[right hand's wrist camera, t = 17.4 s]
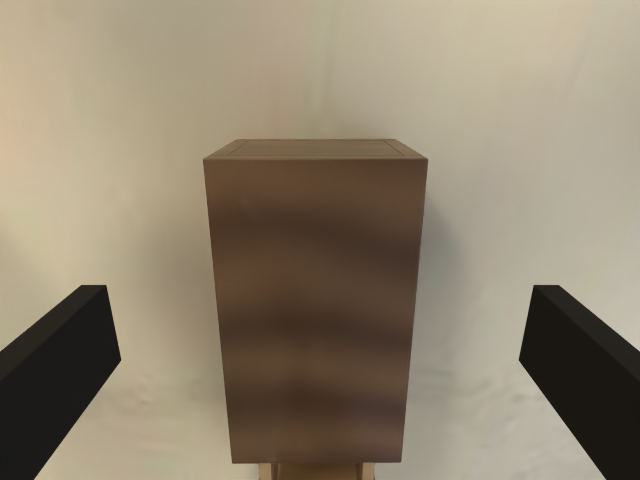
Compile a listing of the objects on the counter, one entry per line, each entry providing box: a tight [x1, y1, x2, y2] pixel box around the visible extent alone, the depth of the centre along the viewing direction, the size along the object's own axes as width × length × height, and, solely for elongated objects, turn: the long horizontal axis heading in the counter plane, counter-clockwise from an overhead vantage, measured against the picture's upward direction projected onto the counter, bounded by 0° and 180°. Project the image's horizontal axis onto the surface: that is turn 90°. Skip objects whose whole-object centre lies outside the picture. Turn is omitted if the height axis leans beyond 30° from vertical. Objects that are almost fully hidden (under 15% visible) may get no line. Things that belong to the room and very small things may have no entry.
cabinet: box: [203, 139, 428, 464], centre depth 26 cm, size 19×11×8 cm, turn 0°
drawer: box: [259, 463, 375, 480], centre depth 30 cm, size 23×9×6 cm, turn 0°
